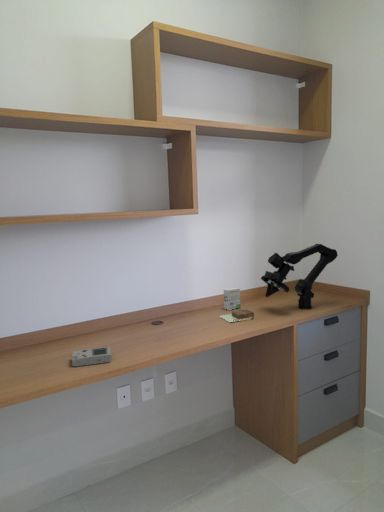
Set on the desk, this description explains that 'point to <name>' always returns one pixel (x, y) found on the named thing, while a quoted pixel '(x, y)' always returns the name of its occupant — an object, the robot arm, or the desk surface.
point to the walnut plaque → (242, 314)
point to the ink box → (231, 298)
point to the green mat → (228, 317)
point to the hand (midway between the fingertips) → (266, 296)
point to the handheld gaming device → (91, 356)
